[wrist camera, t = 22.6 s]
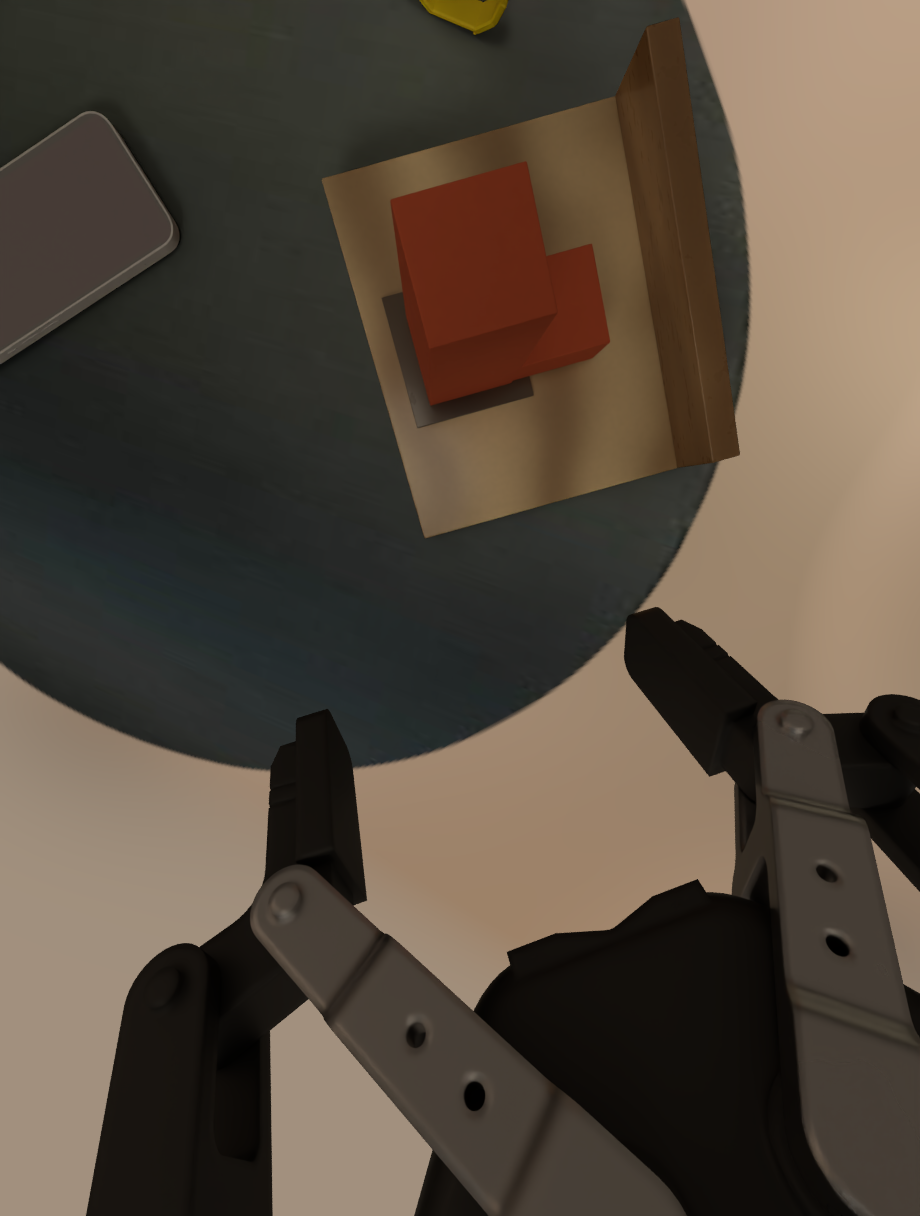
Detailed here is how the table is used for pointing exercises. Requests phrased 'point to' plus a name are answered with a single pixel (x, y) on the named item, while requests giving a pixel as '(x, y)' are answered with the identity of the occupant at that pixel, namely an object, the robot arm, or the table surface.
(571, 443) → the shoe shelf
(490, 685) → the table surface
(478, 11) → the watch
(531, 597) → the table surface
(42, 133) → the table surface
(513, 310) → the boot
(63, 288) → the smartphone
